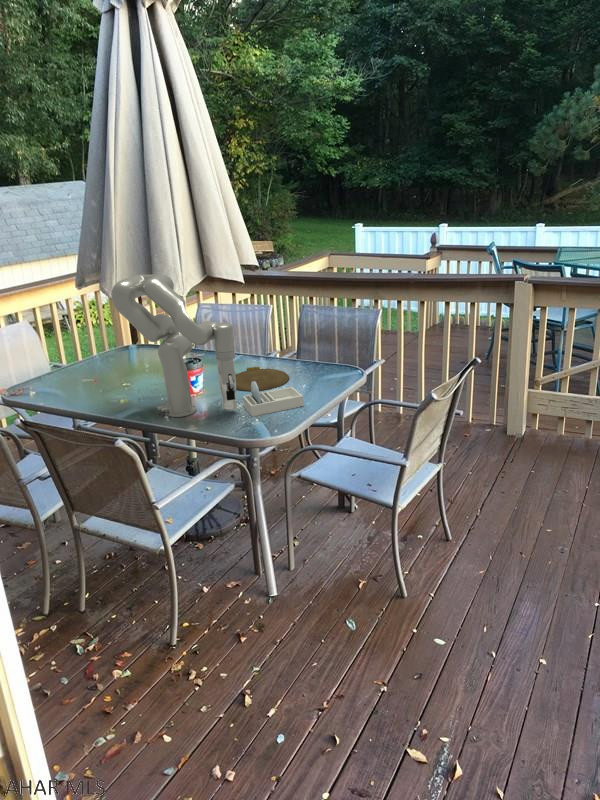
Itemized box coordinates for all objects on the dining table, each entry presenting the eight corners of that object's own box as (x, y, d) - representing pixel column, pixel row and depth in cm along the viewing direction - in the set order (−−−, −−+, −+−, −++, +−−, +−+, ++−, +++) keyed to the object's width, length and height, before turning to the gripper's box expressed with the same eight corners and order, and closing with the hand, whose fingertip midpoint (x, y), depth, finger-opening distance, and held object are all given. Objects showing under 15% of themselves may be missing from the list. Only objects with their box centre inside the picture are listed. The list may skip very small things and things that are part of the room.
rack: (252, 416, 249) (249, 388, 245) (243, 406, 260) (240, 379, 256) (303, 406, 255) (301, 378, 251) (293, 396, 267) (291, 370, 263)
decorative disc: (237, 392, 273) (220, 371, 299) (238, 399, 274) (220, 378, 300) (298, 380, 282) (276, 361, 308) (298, 387, 283) (276, 367, 309)
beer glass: (219, 410, 250) (216, 375, 245) (223, 404, 257) (220, 369, 251) (236, 410, 249) (233, 375, 244) (239, 404, 256) (237, 369, 250)
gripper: (211, 350, 251) (215, 391, 258) (221, 361, 236) (224, 405, 243) (229, 347, 254) (232, 388, 260) (240, 359, 238) (243, 402, 245)
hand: (228, 396), depth 251 cm, fingers closed on beer glass, 6 cm apart
